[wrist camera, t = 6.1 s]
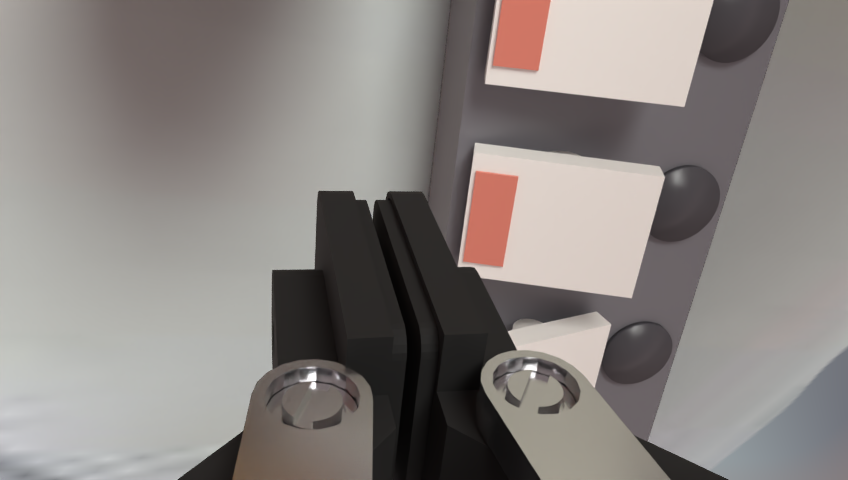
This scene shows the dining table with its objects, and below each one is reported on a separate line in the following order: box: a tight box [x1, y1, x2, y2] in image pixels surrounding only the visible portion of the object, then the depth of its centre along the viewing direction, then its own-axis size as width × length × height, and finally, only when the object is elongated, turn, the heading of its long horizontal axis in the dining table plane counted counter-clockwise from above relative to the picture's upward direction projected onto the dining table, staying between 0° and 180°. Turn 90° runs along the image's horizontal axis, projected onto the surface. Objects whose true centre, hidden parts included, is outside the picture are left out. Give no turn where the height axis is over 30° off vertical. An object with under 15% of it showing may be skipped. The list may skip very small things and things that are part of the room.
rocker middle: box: [458, 143, 665, 298], centre depth 33 cm, size 8×6×2 cm
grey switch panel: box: [428, 0, 789, 441], centre depth 37 cm, size 14×36×4 cm, turn 175°
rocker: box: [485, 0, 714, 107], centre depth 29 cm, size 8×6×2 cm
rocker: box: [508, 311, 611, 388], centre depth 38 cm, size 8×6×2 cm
